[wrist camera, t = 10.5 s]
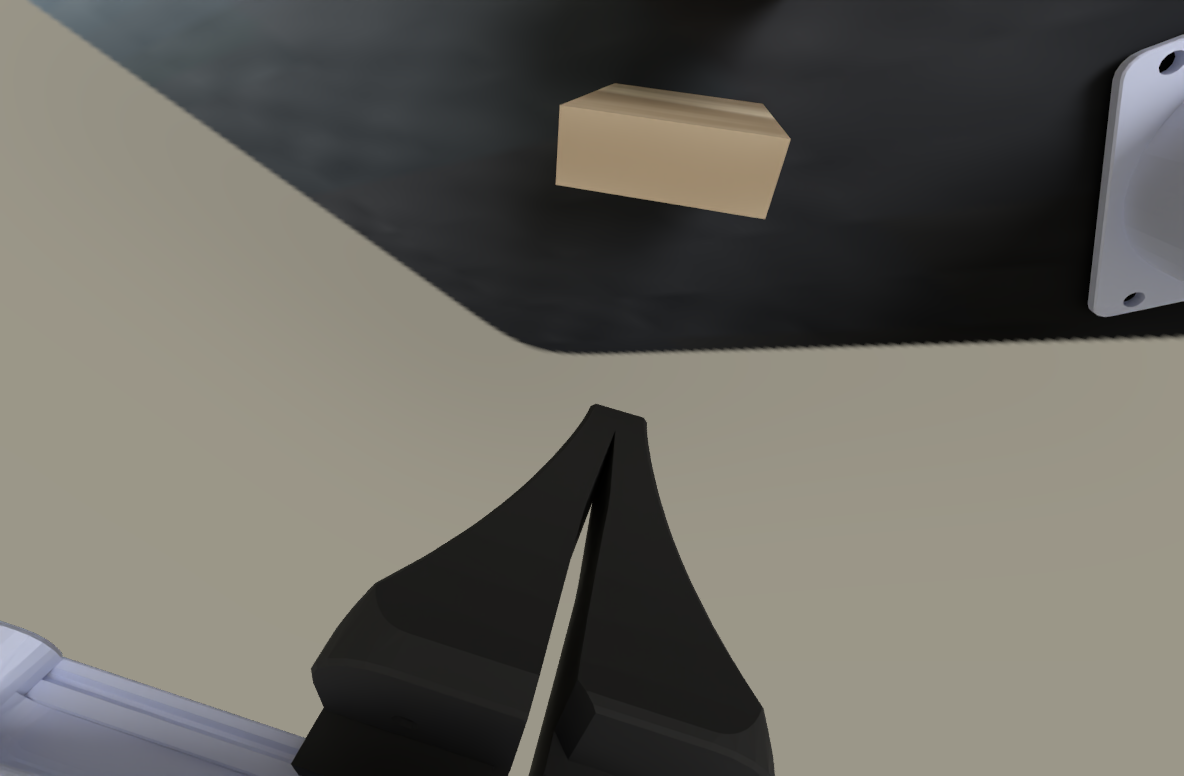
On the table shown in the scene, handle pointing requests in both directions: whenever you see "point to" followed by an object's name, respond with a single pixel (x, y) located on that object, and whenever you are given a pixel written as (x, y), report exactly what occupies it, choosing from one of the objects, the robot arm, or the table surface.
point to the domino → (672, 148)
